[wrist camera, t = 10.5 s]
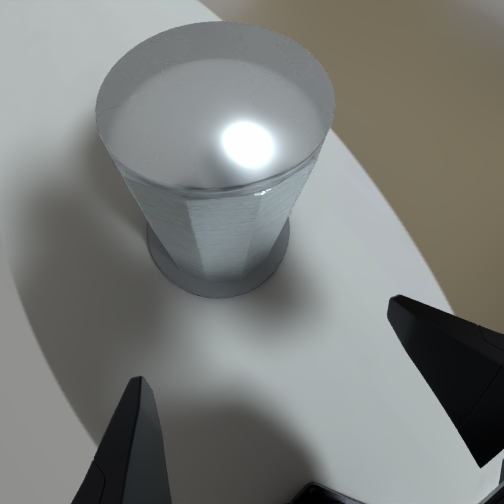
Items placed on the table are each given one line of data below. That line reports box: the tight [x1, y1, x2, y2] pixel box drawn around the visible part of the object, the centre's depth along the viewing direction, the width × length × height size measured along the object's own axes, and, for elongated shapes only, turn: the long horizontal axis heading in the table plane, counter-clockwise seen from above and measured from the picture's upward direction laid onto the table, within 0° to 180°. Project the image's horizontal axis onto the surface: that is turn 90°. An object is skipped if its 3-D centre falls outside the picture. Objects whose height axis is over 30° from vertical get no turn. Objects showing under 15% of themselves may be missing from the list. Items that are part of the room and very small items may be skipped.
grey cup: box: [95, 21, 335, 283], centre depth 14 cm, size 7×7×12 cm
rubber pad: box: [147, 217, 290, 298], centre depth 20 cm, size 9×9×1 cm
